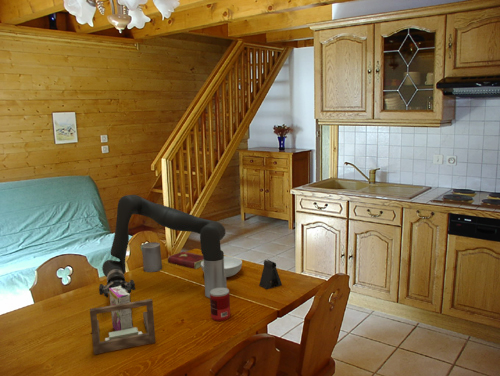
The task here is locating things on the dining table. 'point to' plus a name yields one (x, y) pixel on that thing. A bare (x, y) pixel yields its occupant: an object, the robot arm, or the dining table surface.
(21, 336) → the dining table surface
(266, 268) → the phone stand
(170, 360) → the dining table surface
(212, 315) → the canned food
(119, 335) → the upper offcut
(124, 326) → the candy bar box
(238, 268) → the serving bowl
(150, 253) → the pillar candle
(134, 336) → the frame
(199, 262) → the hardcover book
